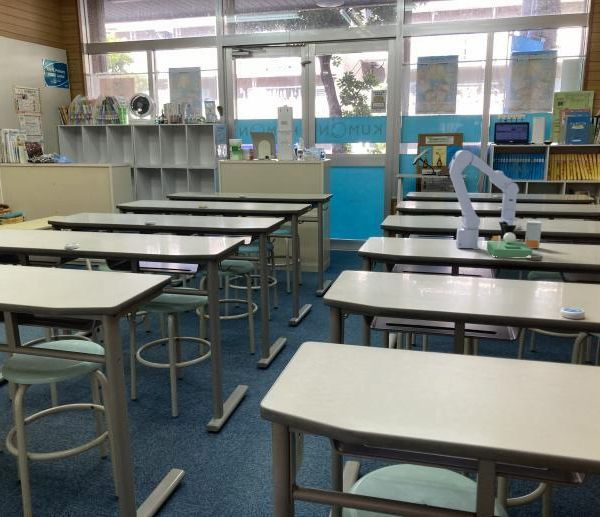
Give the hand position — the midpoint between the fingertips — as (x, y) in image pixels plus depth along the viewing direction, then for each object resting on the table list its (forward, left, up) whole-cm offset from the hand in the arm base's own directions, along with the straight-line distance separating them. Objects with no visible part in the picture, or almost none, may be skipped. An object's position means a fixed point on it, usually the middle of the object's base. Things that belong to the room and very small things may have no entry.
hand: (506, 238), depth 243 cm
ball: (0, -7, +2) cm, 8 cm away
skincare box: (+12, +4, -4) cm, 13 cm away
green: (-1, -12, -4) cm, 13 cm away
